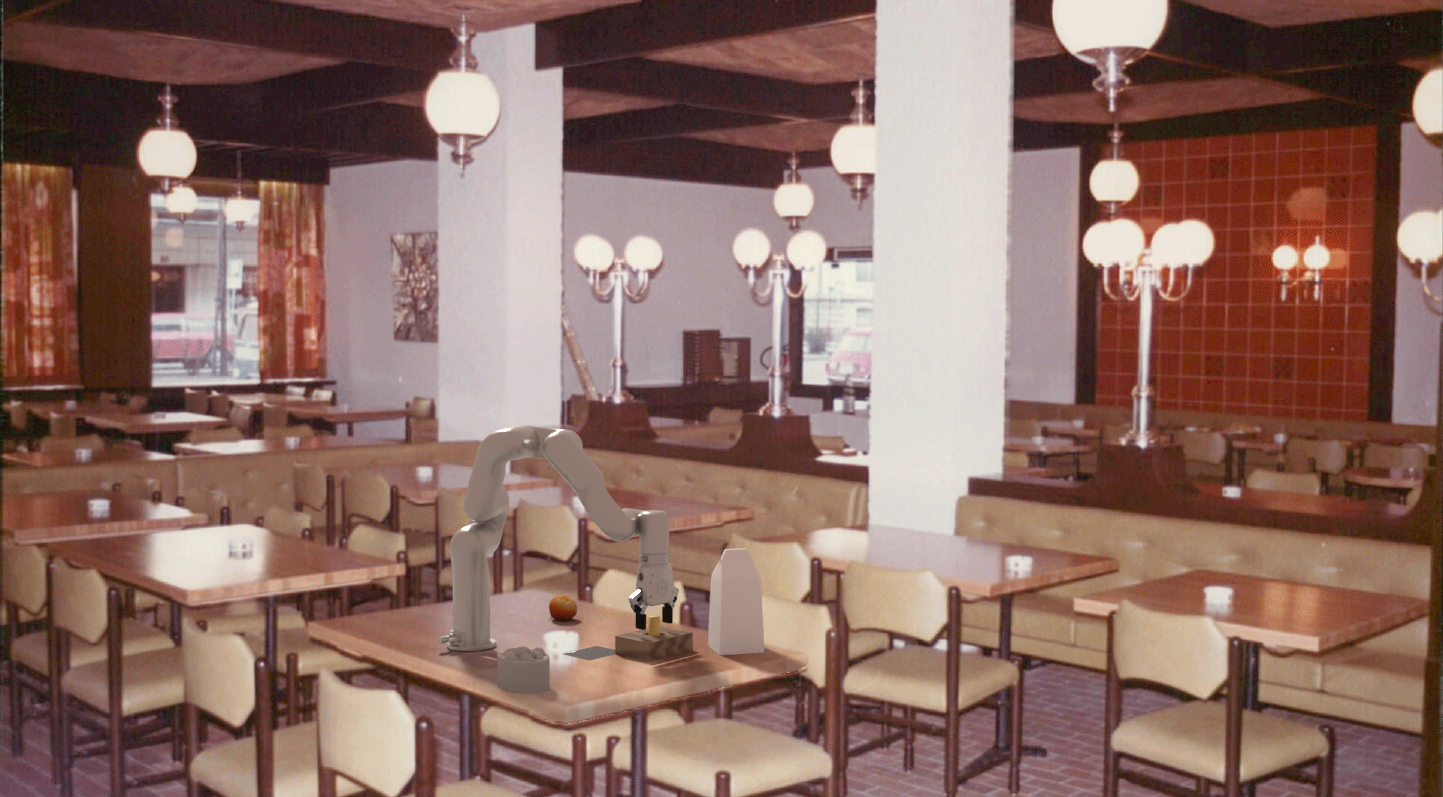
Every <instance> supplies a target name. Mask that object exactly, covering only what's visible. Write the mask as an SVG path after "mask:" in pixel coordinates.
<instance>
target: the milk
mask: <svg viewBox="0 0 1443 797" xmlns="http://www.w3.org/2000/svg"><path fill="white" fill-rule="evenodd" d="M760 577H761V576H760V574H759V572H758V570H757V568H756V566H755V564H754V561H753V559H752V557H751V554H750V551H749V549H748V548H746V547H745V548H743V547H742V548H725V549H723V552H722V555H721V556H720V560H718V562H717V564H716V566H715V567H714V569H713V571H712V573H711V577H710V589H709V590H710V591H709V592H710V593H709V594H710V595H709V612H708V630H707V631H708V635H707V636H708V637H707V646H709V648H710V649H711V650H713V651H714V652H715V653H716V654H717V655H719V656H728V655H742V654H743V655H745V654H746V655H747V654H759V653H765V652H766V651H765V637H764V636H765V635H764V634H765V633H764V616H763V615H764V613H763V596H762V593H763V592H762V581H761V578H760Z"/></svg>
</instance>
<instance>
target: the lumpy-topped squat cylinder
mask: <svg viewBox="0 0 1443 797" xmlns="http://www.w3.org/2000/svg"><path fill="white" fill-rule="evenodd" d="M496 662H497V665H496V667H497V672H496V674H497V687H498V688H499V689H501V690H504V691H506V692H509V693H515V694H525V695H526V694H532V693H535V694H542V693H545V692H547V691H549V690H550V688H551V685H550V684H551V683H550V680H551V679H550V678H551V676H550V674H551V673H550V670H551V669H550V666H551V665H550V662H551V660H550V655H549V654H548V653H546V651H545V649H544V648H543V647H541V646H537V647H534V648H533V649H530V648H529V647H527V646H518V647H511V648H507V649H506V650H504V651H503V652H500V653H498V654H497V661H496ZM548 689H549V690H548ZM546 690H547V691H546ZM544 691H545V692H544ZM541 692H542V693H541ZM532 695H533V694H532Z"/></svg>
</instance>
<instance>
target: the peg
mask: <svg viewBox="0 0 1443 797" xmlns="http://www.w3.org/2000/svg"><path fill="white" fill-rule="evenodd" d="M647 625H648V626H647V628H648V636H653V637H656V636H660V626H661V616H659V615H648V616H647Z"/></svg>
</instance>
